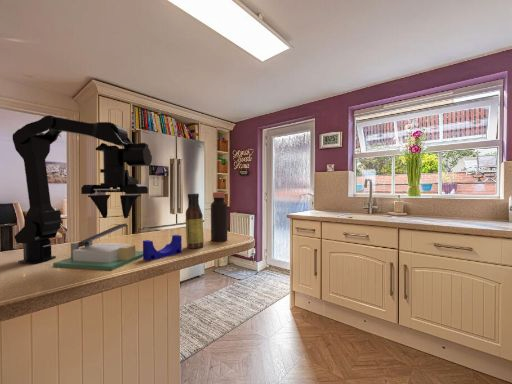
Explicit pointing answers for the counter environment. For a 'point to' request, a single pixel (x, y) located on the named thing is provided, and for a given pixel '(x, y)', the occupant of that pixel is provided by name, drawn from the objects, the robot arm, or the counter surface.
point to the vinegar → (218, 217)
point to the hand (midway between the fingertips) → (115, 217)
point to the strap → (101, 234)
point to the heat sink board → (96, 264)
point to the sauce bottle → (194, 222)
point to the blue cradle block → (168, 250)
